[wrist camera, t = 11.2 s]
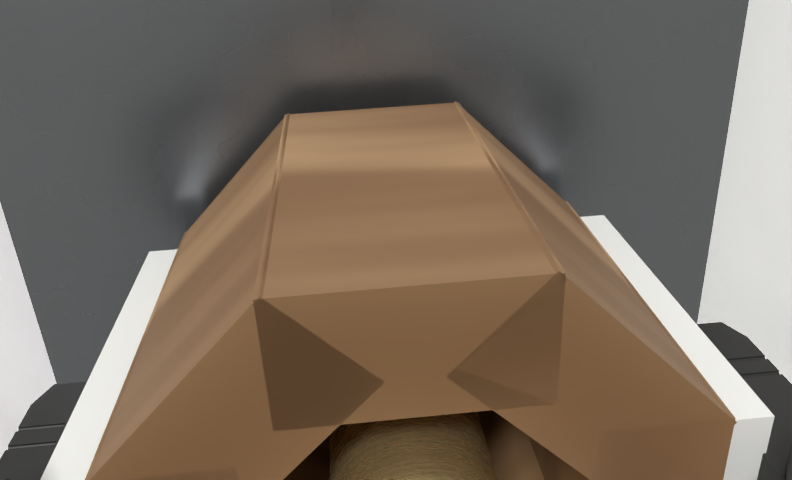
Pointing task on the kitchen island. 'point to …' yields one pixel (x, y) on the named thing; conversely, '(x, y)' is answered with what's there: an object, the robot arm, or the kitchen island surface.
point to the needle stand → (336, 91)
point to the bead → (403, 318)
